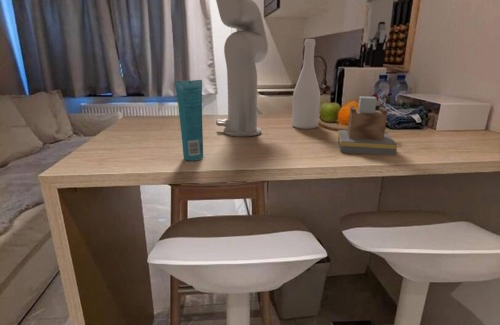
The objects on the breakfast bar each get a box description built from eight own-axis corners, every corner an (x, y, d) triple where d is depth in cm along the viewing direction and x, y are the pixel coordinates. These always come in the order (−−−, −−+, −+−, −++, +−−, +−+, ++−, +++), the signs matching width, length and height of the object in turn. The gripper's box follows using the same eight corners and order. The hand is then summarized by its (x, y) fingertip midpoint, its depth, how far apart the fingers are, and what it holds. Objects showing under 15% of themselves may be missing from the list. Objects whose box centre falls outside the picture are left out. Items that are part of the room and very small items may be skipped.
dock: (339, 152, 88) (340, 141, 87) (337, 139, 101) (338, 129, 100) (395, 155, 85) (397, 144, 84) (385, 142, 99) (386, 132, 98)
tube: (198, 153, 86) (194, 78, 80) (210, 156, 83) (208, 79, 77) (175, 159, 81) (169, 80, 75) (187, 163, 78) (183, 81, 72)
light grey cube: (359, 112, 89) (361, 98, 88) (357, 110, 93) (359, 96, 91) (374, 113, 88) (376, 98, 87) (372, 111, 92) (374, 96, 91)
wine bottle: (297, 129, 114) (302, 38, 104) (288, 124, 122) (291, 39, 113) (322, 128, 116) (329, 38, 106) (311, 123, 125) (317, 39, 115)
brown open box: (349, 138, 90) (352, 109, 88) (347, 133, 96) (350, 106, 94) (383, 140, 89) (387, 110, 86) (379, 134, 95) (383, 107, 92)
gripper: (362, 0, 90) (355, 65, 95) (371, -12, 74) (362, 67, 79) (391, -1, 88) (382, 65, 94) (407, -12, 72) (395, 68, 78)
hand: (373, 66), depth 86 cm, fingers open, 9 cm apart
